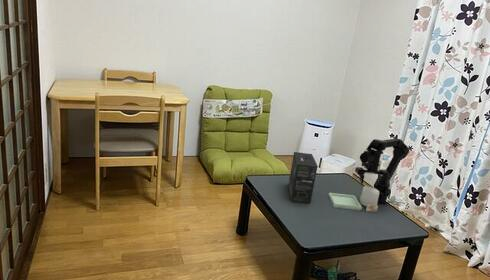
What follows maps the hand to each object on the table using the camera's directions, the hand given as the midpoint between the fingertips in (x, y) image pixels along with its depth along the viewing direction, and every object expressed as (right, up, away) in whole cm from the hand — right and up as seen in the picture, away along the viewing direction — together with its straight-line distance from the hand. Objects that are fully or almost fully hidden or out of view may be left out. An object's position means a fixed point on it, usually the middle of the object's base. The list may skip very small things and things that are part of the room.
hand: (368, 185), depth 226 cm
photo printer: (0, -13, +3) cm, 13 cm away
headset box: (-41, -7, +6) cm, 42 cm away
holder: (0, -13, +3) cm, 13 cm away
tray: (-14, -11, +2) cm, 18 cm away
